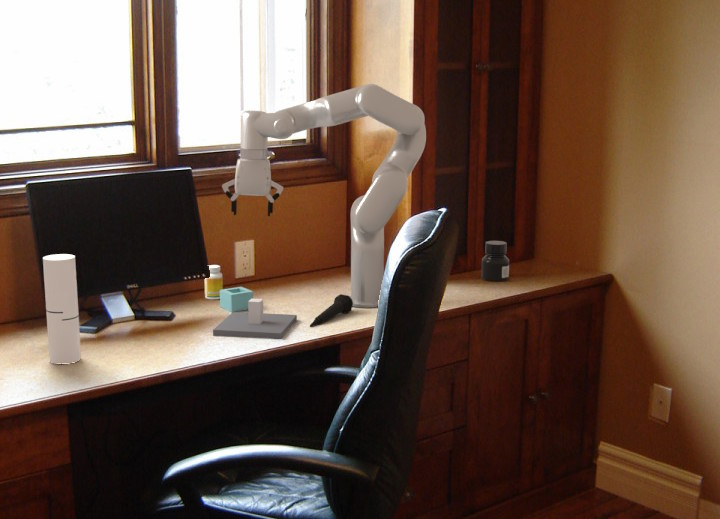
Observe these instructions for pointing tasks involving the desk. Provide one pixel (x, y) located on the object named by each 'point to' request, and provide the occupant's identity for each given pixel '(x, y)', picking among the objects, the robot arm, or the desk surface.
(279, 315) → the post board
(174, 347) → the desk surface
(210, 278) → the supplement bottle
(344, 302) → the microphone
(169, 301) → the desk surface
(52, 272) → the cylindrical container
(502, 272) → the ink bottle
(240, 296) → the teal hollow cube
